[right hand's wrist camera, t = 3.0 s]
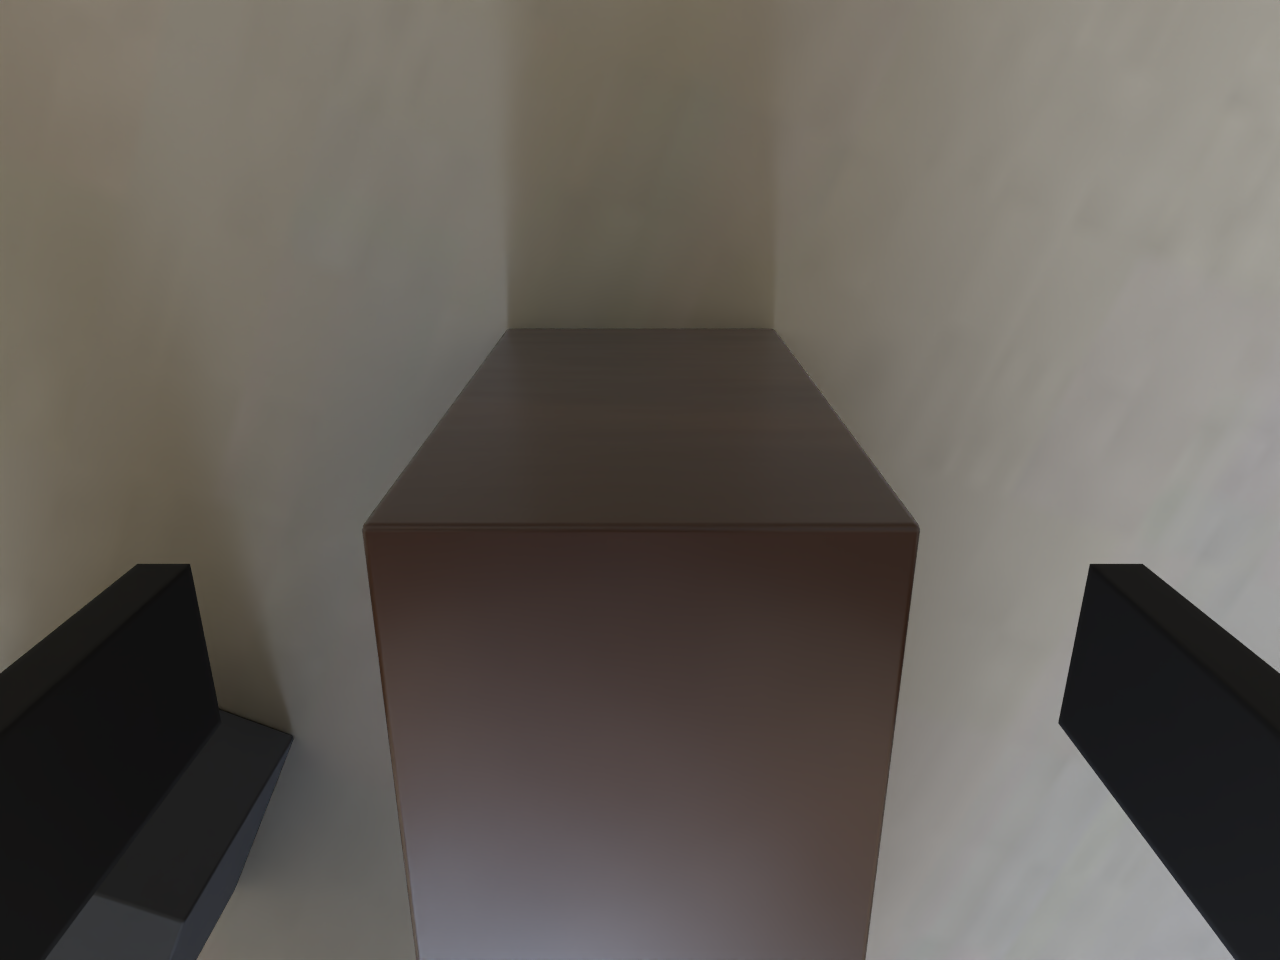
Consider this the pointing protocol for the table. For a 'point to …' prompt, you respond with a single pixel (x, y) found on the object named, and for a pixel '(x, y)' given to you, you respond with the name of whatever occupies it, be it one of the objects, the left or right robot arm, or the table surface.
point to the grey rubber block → (184, 854)
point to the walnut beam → (640, 655)
